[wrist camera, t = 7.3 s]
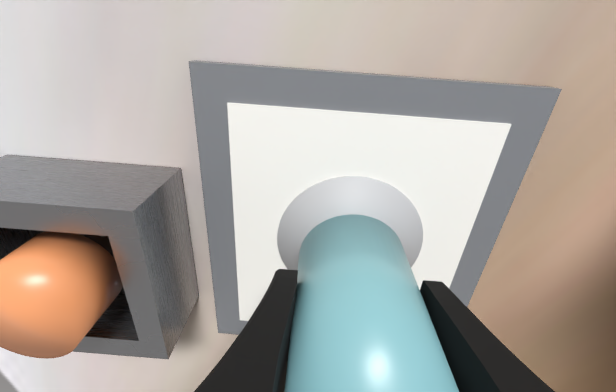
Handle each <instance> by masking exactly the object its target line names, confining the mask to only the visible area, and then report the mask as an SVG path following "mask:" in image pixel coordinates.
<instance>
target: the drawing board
mask: <svg viewBox="0 0 616 392" xmlns="http://www.w3.org/2000/svg"><path fill="white" fill-rule="evenodd" d="M189 68H190V77H191V87H192V96H193V105H194V114H195V123H196V132H197V142H198V151H199V160H200V169H201V178H202V188H203V197H204V206H205V215H206V224H207V234H208V243H209V252H210V261H211V270H212V280H213V289H214V298H215V307H216V316H217V326H218V333H228V334H240V333H241V331H242V330H243V328H244V327H245V325H246V324H247V322H248V321H249V319H250V318H251V316H252V315H253V313H254V311H255V310H256V308H257V307H258V305H259V303H260V302H261V300H262V298H263V296H264V295H265V293H266V291H267V289H268V287H269V285H270V283H271V281H272V279H273V277H274V274H275V271H277V270H278V269H288V270H298V261H299V252H300V248H301V244H302V242H303V240H304V238H305V237H306V236H307V234H308V233H309V232H310V231H311V230H312V229H313V228H314V227H316V226H317V225H318V224H320V223H322V222H323V221H326V220H328V219H330V218H333V217H336V216H341V215H350V214H353V215H365V216H369V217H372V218H375V219H378V220H380V221H382V222H383V223H385V224H386V225H388V226H389V227H390V228H391V229H392V230H393V231H394V232H395V233H396V234H397V236H398V237H399V239H400V241H401V243H402V246H403V249H404V251H405V254H406V256H407V259H408V261H409V264H410V267H411V269H412V272H413V274H414V277H415V279H416V282H417V285H418V287H419V290H420V288H421V285H422V282H423V280H427V281H440V282H443V283H444V284H445V285H446V286H447V287H448V288H449V289H450V290H451V291H452V292H453V293H454V294H455V295H456V296H457V297H458V298H459V299H460V301H461V302H462V303H463V304H464V305H465V306H466V307H467V306H468V304H469V301H470V299H471V297H472V294H473V292H474V290H475V287H476V285H477V283H478V281H479V278H480V276H481V274H482V271H483V269H484V267H485V264H486V262H487V260H488V258H489V255H490V253H491V251H492V248H493V246H494V244H495V241H496V239H497V237H498V235H499V232H500V230H501V228H502V225H503V223H504V221H505V218H506V216H507V214H508V212H509V209H510V207H511V205H512V202H513V200H514V198H515V195H516V193H517V191H518V189H519V186H520V184H521V182H522V179H523V177H524V175H525V172H526V170H527V168H528V165H529V163H530V161H531V159H532V156H533V154H534V152H535V149H536V147H537V145H538V142H539V140H540V138H541V136H542V133H543V131H544V129H545V126H546V124H547V122H548V119H549V117H550V115H551V113H552V110H553V108H554V106H555V103H556V101H557V99H558V96H559V94H560V92H561V90H562V89H558V88H554V87H545V86H531V85H518V84H504V83H491V82H477V81H464V80H450V79H437V78H423V77H410V76H396V75H383V74H369V73H356V72H342V71H329V70H315V69H302V68H288V67H275V66H261V65H248V64H234V63H221V62H208V61H189Z"/></svg>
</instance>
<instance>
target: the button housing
mask: <svg viewBox="0 0 616 392" xmlns="http://www.w3.org/2000/svg"><path fill="white" fill-rule="evenodd" d="M46 231H50V232H63V233H76V234H79V235H82V236H84V237H87V238H89V239H91V240H93V241H94V242H96V243H98V244H99V245H101V246H102V247H103V248H104V249H106V250H107V251H108V252H109V253H110V254H111V255H112V256H113V257H114V259H115V261H116V264H117V268H118V271H119V274H120V278H121V281H122V285H123V287H122V290H121V291H120V293H119V294H118V296H117V297H116V298H115V299H114V301H113V302H112V303H111V304H110V306H109V307H108V308H107V309H106V311H105V312H104V313H103V314H102V316H101V317H100V318H99V319H98V321H97V322H96V323H95V324H94V326H93V327H92V328H91V329H90V331H89V332H88V333H87V334H86V336H85V337H84V338H83V339H82V341H81V342H80V343H79V344H78V346H77V347H76V348H75V349H74V350H73V351H74V352H86V353H98V354H111V355H123V356H135V357H147V358H160V359H169V357H170V355H171V353H172V351H173V349H174V346H175V344H176V342H177V340H178V338H179V336H180V334H181V332H182V330H183V328H184V326H185V324H186V322H187V319H188V317H189V315H190V313H191V311H192V309H193V307H194V305H195V303H196V301H197V299H198V297H199V294H198V287H197V280H196V273H195V266H194V259H193V252H192V244H191V237H190V230H189V223H188V216H187V209H186V202H185V195H184V188H183V181H182V174H181V168H173V167H160V166H147V165H134V164H121V163H108V162H95V161H82V160H69V159H56V158H43V157H30V156H17V155H5V156H3V157H0V260H1V259H2V258H4V257H5V256H7V255H8V254H10V253H11V252H12V251H14V250H15V249H17V248H18V247H20V246H21V245H23V244H24V243H26V242H27V241H29V240H30V239H32V238H33V237H34V236H36V235H38V234H40V233H42V232H46Z"/></svg>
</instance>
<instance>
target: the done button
mask: <svg viewBox="0 0 616 392" xmlns="http://www.w3.org/2000/svg"><path fill="white" fill-rule="evenodd" d="M122 287H123V285H122V281H121V278H120V274H119V271H118V268H117V264H116V261H115V259H114V257H113V256H112V255H111V254H110V253H109V252H108V251H107V250H106V249H104V248H103V247H102V246H101V245H99V244H98V243H96V242H94V241H93V240H91V239H89V238H87V237H84V236H82V235H79V234H76V233H63V232H50V231H46V232H42V233H40V234H38V235H36V236H34V237H33V238H32V239H30V240H29V241H27V242H26V243H24V244H23V245H21V246H20V247H18V248H17V249H15V250H14V251H12V252H11V253H10V254H8V255H7V256H5V257H4V258H2V259H1V260H0V347H2V348H4V349H7V350H9V351H12V352H15V353H17V354H21V355H25V356H29V357H36V358H56V357H61V356H64V355H67V354H69V353H70V352H72V351H73V350H74V349H75V348H76V347H77V346H78V344H79V343H80V342H81V341H82V339H83V338H84V337H85V336H86V334H87V333H88V332H89V331H90V329H91V328H92V327H93V326H94V324H95V323H96V322H97V321H98V319H99V318H100V317H101V316H102V314H103V313H104V312H105V311H106V309H107V308H108V307H109V306H110V304H111V303H112V302H113V301H114V299H115V298H116V297H117V296H118V294H119V293H120V291H121V290H122Z"/></svg>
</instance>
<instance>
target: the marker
mask: <svg viewBox="0 0 616 392" xmlns="http://www.w3.org/2000/svg"><path fill="white" fill-rule="evenodd" d="M284 392H459V390H458V387H457V385H456V382H455V380H454V377H453V375H452V372H451V369H450V367H449V364H448V362H447V359H446V357H445V354H444V351H443V349H442V346H441V344H440V341H439V339H438V336H437V333H436V331H435V328H434V326H433V323H432V321H431V318H430V315H429V313H428V310H427V308H426V305H425V303H424V300H423V297H422V295H421V292H420V290H419V287H418V285H417V282H416V279H415V277H414V274H413V272H412V269H411V267H410V264H409V261H408V259H407V256H406V254H405V251H404V249H403V246H402V243H401V241H400V239H399V237H398V236H397V234H396V233H395V232H394V231H393V230H392V229H391V228H390V227H389V226H388V225H386V224H385V223H383V222H382V221H380V220H378V219H375V218H372V217H369V216H365V215H353V214H350V215H341V216H336V217H333V218H330V219H328V220H326V221H323V222H322V223H320V224H318V225H317V226H316V227H314V228H313V229H312V230H311V231H310V232H309V233H308V234H307V236H306V237H305V238H304V240H303V242H302V244H301V248H300V252H299V261H298V278H297V290H296V300H295V309H294V315H293V321H292V327H291V335H290V344H289V353H288V362H287V372H286V381H285V390H284Z"/></svg>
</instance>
